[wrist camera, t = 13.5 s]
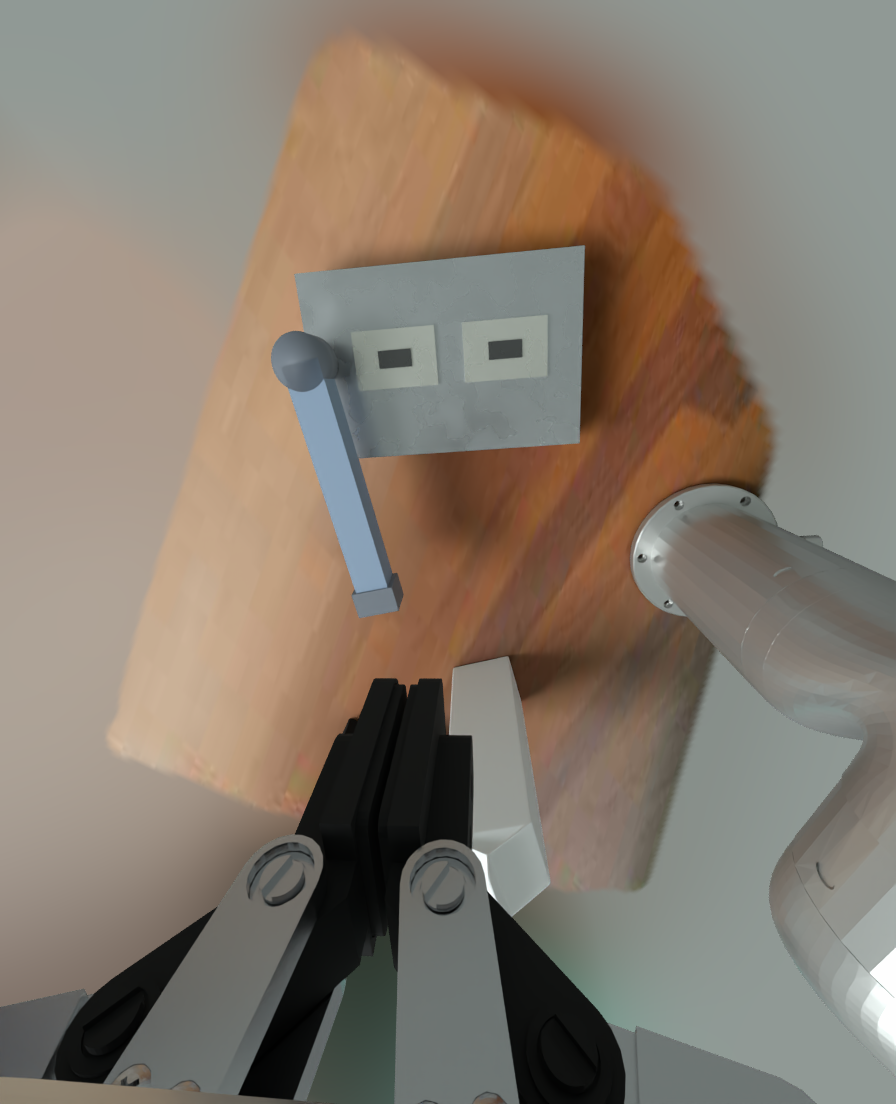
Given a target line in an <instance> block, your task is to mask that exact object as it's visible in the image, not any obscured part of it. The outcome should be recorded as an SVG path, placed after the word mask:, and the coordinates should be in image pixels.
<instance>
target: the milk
mask: <svg viewBox="0 0 896 1104" xmlns="http://www.w3.org/2000/svg"><path fill="white" fill-rule="evenodd" d="M449 735H472V742H473V771H474V797H473V838H472V851H473V852H474V853H475V854H476V856H477V857H478V859H479V860H480V862H481V864H482V867H483V870H484V874H485V879H486V886H487V891H488V892H489V893H490V894H491V895H492V897H493V898H494V899H495V900H496V901H497V902H498V903H499V904H500V905H501V906H502V907H503V908H504V909H505V911H506V912H507V913H508V914H509V915H510V916H511V917H512V916H513V915H514V914H515V913H517V912H518V911H519V910H520V909H521V908H523V907H524V906H525V905H526V904H527V903H529V902H530V901H531V900H532V899H533V898H534V897H536V896H537V895H538V894H539V893H540V892H542V891H543V890H544V889H545V888H546V887H547V886H549V885H550V876H549V870H548V863H547V857H546V851H545V845H544V839H543V832H542V826H541V820H540V814H539V808H538V801H537V795H536V789H535V783H534V777H533V771H532V764H531V758H530V752H529V746H528V740H527V733H526V727H525V721H524V715H523V709H522V703H521V699H520V695H519V692H518V688H517V684H516V681H515V677H514V674H513V670H512V667H511V663H510V660H509V657H508V656H506V657H501V658H496V659H492V660H487V661H483V662H478V663H473V664H469V665H464V666H460V667H455V668H453V679H452V696H451V712H450V729H449Z"/></svg>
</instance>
